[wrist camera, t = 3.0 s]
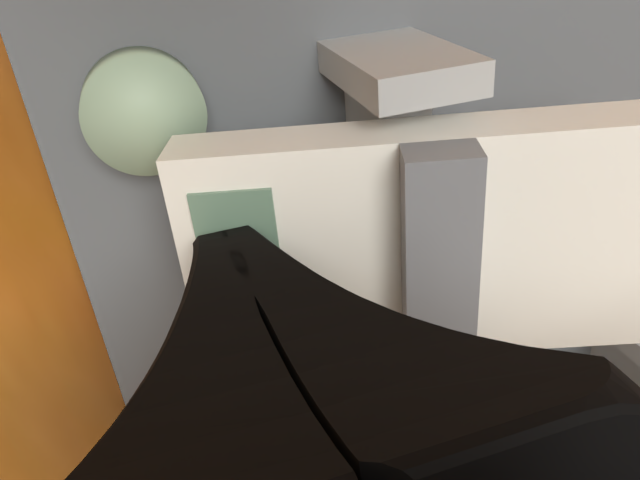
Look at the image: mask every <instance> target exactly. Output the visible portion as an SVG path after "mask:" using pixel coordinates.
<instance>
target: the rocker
mask: <svg viewBox="0 0 640 480" xmlns="http://www.w3.org/2000/svg"><path fill="white" fill-rule="evenodd" d="M156 165H157V169H158V174H159V178H160V182H161V186H162V191H163V195H164V199H165V203H166V208H167V212H168V216H169V220H170V225H171V229H172V233H173V237H174V242H175V246H176V250H177V254H178V259H179V263H180V267H181V271H182V275H183V280H184V284H185V287H186V283H187V280H188V277H189V273H190V268H191V264H192V258H193V242H194V241H195V239H196V238H197V237H198V236H200V235H205V234H209V233H214V232H219V231H223V230H228V229H232V228H237V227H242V226H246V225H249V226H250V227H252V228H253V229H255V230H256V231H257V232H259V233H260V234H261V235H263V236H264V237H265V238H267V239H268V240H269V241H271V242H272V243H273V244H275V245H276V246H277V247H279V248H280V249H281V250H283V251H284V252H285V253H287V254H288V255H290V256H291V257H293V258H294V259H295V260H297V261H299V262H300V263H302V264H303V265H305V266H306V267H308V268H309V269H311V270H312V271H314V272H315V273H317V274H319V275H320V276H322V277H324V278H326V279H328V280H329V281H331V282H333V283H335V284H337V285H339V286H341V287H342V288H344V289H346V290H348V291H350V292H352V293H354V294H356V295H358V296H360V297H363V298H365V299H367V300H370V301H372V302H374V303H377V304H379V305H382V306H384V307H386V308H389V309H391V310H394V311H396V312H399V313H402V314H405V315H407V316H410V317H413V318H416V319H419V320H423V321H426V322H429V323H432V324H435V325H439V326H442V327H445V328H448V329H452V330H456V331H460V332H464V333H468V334H472V335H475V336H480V337H485V338H489V339H494V340H499V341H504V342H508V343H513V344H518V345H523V346H529V347H537V348H544V349H549V348H566V347H584V346H601V345H618V344H635V343H640V99H637V100H624V101H611V102H598V103H585V104H572V105H559V106H546V107H533V108H520V109H507V110H494V111H481V112H468V113H455V114H442V115H429V116H416V117H403V118H390V119H377V120H364V121H351V122H338V123H325V124H312V125H299V126H286V127H273V128H260V129H247V130H234V131H221V132H208V133H195V134H182V135H172V136H171V138H170V139H169V141H168V143H167V144H166V146H165V147H164V149H163V151H162V152H161V154H160V155H159V157H158V159H157V160H156Z"/></svg>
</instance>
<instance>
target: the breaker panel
mask: <svg viewBox="0 0 640 480" xmlns="http://www.w3.org/2000/svg"><path fill="white" fill-rule="evenodd" d="M0 33H1V36H2V39H3V42H4V45H5V48H6V51H7V54H8V57H9V60H10V63H11V66H12V69H13V72H14V75H15V78H16V81H17V84H18V87H19V90H20V93H21V96H22V99H23V101H24V104H25V107H26V110H27V113H28V116H29V119H30V122H31V125H32V128H33V131H34V134H35V137H36V140H37V143H38V146H39V149H40V152H41V155H42V158H43V161H44V164H45V167H46V170H47V173H48V176H49V179H50V182H51V185H52V188H53V191H54V194H55V197H56V200H57V203H58V206H59V209H60V212H61V215H62V218H63V221H64V224H65V227H66V230H67V232H68V235H69V238H70V241H71V244H72V247H73V250H74V253H75V256H76V259H77V262H78V265H79V268H80V271H81V274H82V277H83V280H84V283H85V286H86V289H87V292H88V295H89V298H90V301H91V304H92V307H93V310H94V313H95V316H96V319H97V322H98V325H99V328H100V331H101V334H102V337H103V340H104V343H105V346H106V349H107V352H108V355H109V358H110V361H111V363H112V366H113V369H114V372H115V375H116V378H117V381H118V384H119V387H120V390H121V393H122V396H123V399H124V402H125V405H127V403H128V402H129V400H130V399H131V397H132V396H133V394H134V393H135V391H136V390H137V388H138V387H139V385H140V383H141V382H142V380H143V379H144V377H145V376H146V374H147V372H148V370H149V369H150V367H151V365H152V363H153V362H154V360H155V358H156V356H157V354H158V352H159V351H160V349H161V347H162V345H163V343H164V341H165V339H166V336H167V334H168V332H169V330H170V327H171V325H172V322H173V320H174V318H175V315H176V313H177V310H178V308H179V305H180V303H181V300H182V297H183V293H184V290H185V284H184V280H183V275H182V271H181V267H180V263H179V259H178V254H177V250H176V246H175V242H174V237H173V233H172V229H171V225H170V220H169V216H168V212H167V208H166V203H165V199H164V195H163V191H162V186H161V182H160V178H159V174H158V169H157V165H156V160H157V159H158V157H159V155H160V154H161V152H162V151H163V149H164V147H165V146H166V144H167V143H168V141H169V139H170V138H171V136H172V135H182V134H195V133H208V132H221V131H234V130H247V129H260V128H273V127H286V126H299V125H312V124H325V123H338V122H351V121H364V120H377V119H390V118H403V117H416V116H429V115H442V114H455V113H468V112H481V111H494V110H507V109H520V108H533V107H546V106H559V105H572V104H585V103H598V102H611V101H624V100H637V99H640V0H0ZM549 349H551V350H559V351H566V352H573V353H581V354H588V355H595V356H603V357H605V358H606V359H608V360H609V361H610V362H611V363H613V364H614V365H615V366H616V367H618V368H619V369H620V370H621V371H622V372H623V373H624V374H626V375H627V376H628V377H629V378H630V379H631V380H632V381H634V382H635V383H636V384H637V385H638V386H639V387H640V343H635V344H618V345H601V346H584V347H566V348H549Z"/></svg>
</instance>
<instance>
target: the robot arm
mask: <svg viewBox="0 0 640 480" xmlns="http://www.w3.org/2000/svg"><path fill="white" fill-rule="evenodd" d="M65 480H640V387H639V386H638V385H637V384H636V383H635V382H634V381H632V380H631V379H630V378H629V377H628V376H627V375H626V374H624V373H623V372H622V371H621V370H620V369H619V368H618V367H616V366H615V365H614V364H613V363H611V362H610V361H609V360H608V359H606V358H605V357H603V356H595V355H588V354H581V353H573V352H566V351H559V350H551V349H544V348H537V347H529V346H523V345H518V344H513V343H508V342H504V341H499V340H494V339H489V338H485V337H480V336H475V335H472V334H468V333H464V332H460V331H456V330H452V329H448V328H445V327H442V326H439V325H435V324H432V323H429V322H426V321H423V320H419V319H416V318H413V317H410V316H407V315H405V314H402V313H399V312H396V311H394V310H391V309H389V308H386V307H384V306H382V305H379V304H377V303H374V302H372V301H370V300H367V299H365V298H363V297H360V296H358V295H356V294H354V293H352V292H350V291H348V290H346V289H344V288H342V287H341V286H339V285H337V284H335V283H333V282H331V281H329V280H328V279H326V278H324V277H322V276H320V275H319V274H317V273H315V272H314V271H312V270H311V269H309V268H308V267H306V266H305V265H303V264H302V263H300V262H299V261H297V260H295V259H294V258H293V257H291V256H290V255H288V254H287V253H285V252H284V251H283V250H281V249H280V248H279V247H277V246H276V245H275V244H273V243H272V242H271V241H269V240H268V239H267V238H265V237H264V236H263V235H261V234H260V233H259V232H257V231H256V230H255V229H253V228H252V227H250V226H249V225H246V226H242V227H237V228H232V229H228V230H223V231H219V232H214V233H209V234H205V235H200V236H198V237H197V238H196V239H195V241H194V242H193V258H192V264H191V268H190V273H189V277H188V280H187V283H186V287H185V290H184V293H183V297H182V300H181V303H180V305H179V308H178V310H177V313H176V315H175V318H174V320H173V322H172V325H171V327H170V330H169V332H168V334H167V336H166V339H165V341H164V343H163V345H162V347H161V349H160V351H159V352H158V354H157V356H156V358H155V360H154V362H153V363H152V365H151V367H150V369H149V370H148V372H147V374H146V376H145V377H144V379H143V380H142V382H141V383H140V385H139V387H138V388H137V390H136V391H135V393H134V394H133V396H132V397H131V399H130V400H129V402H128V403H127V405H126V406H125V408H124V409H123V410H122V412H121V413H120V415H119V416H118V417H117V419H116V420H115V421H114V423H113V424H112V425H111V427H110V428H109V429H108V430H107V432H106V433H105V434H104V435H103V436H102V438H101V439H100V440H99V441H98V442H97V444H96V445H95V446H94V447H93V448H92V450H91V451H90V452H89V453H88V454H87V456H86V457H85V458H84V459H83V460H82V461H81V463H80V464H79V465H78V466H77V467H76V468H75V469H74V470H73V471H72V472H71V473H70V474H69V476H68V477H67V478H66V479H65Z"/></svg>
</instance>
